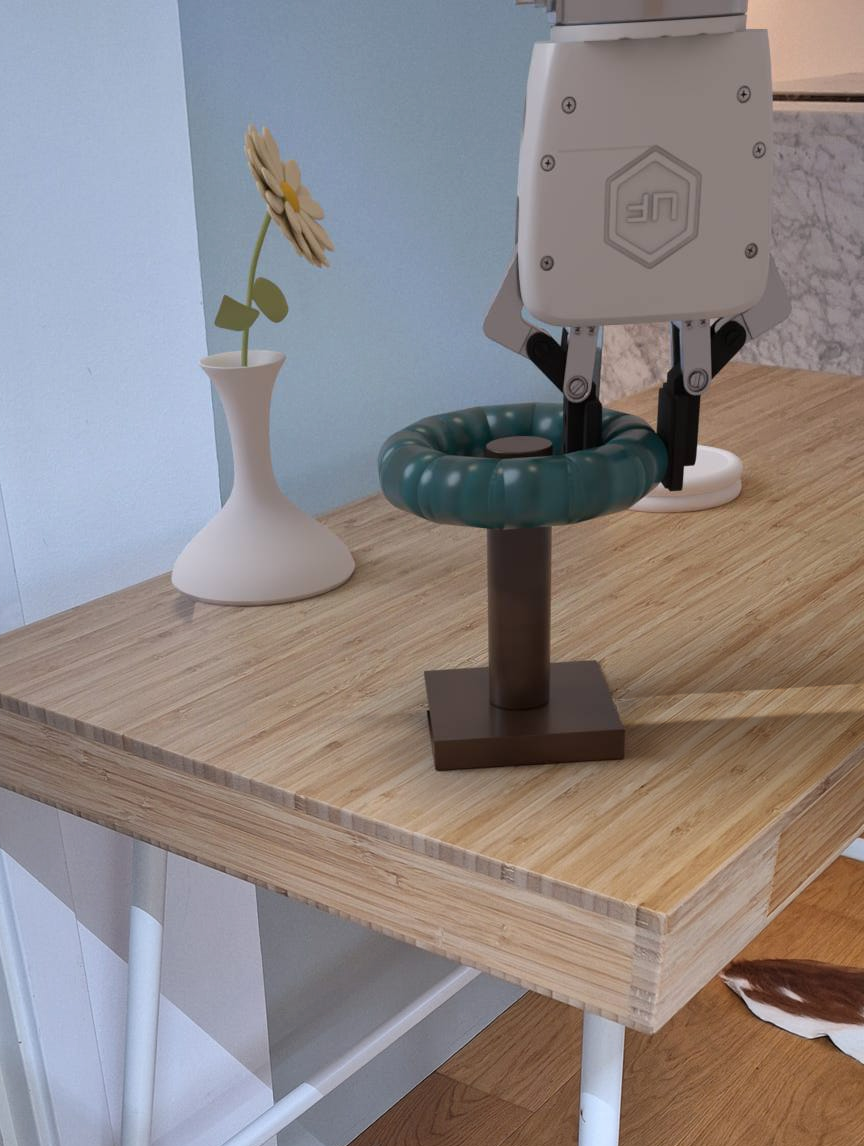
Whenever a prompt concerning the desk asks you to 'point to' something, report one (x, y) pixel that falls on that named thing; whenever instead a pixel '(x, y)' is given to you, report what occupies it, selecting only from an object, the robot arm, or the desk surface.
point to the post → (521, 666)
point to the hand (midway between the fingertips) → (627, 482)
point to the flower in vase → (262, 432)
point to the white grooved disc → (699, 484)
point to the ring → (517, 468)
